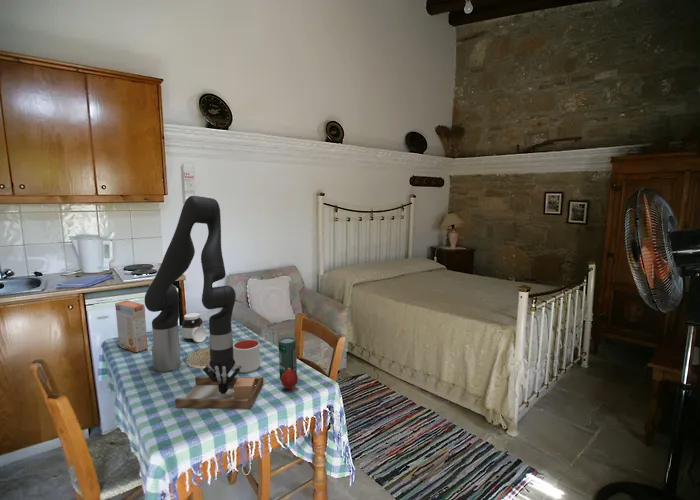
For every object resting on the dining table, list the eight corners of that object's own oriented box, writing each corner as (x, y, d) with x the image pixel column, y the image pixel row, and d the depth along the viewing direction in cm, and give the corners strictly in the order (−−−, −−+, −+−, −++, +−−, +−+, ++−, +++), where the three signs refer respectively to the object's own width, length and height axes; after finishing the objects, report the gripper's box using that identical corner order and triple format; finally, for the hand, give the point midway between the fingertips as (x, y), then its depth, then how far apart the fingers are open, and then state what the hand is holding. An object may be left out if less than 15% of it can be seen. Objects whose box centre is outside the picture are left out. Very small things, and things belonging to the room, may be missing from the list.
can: (282, 374, 147) (280, 337, 145) (297, 374, 147) (296, 337, 145) (278, 382, 141) (277, 343, 139) (295, 382, 141) (294, 343, 139)
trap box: (175, 408, 124) (175, 399, 124) (196, 384, 140) (196, 376, 140) (250, 409, 123) (250, 401, 123) (263, 385, 139) (263, 377, 139)
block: (234, 399, 129) (233, 386, 129) (238, 390, 135) (237, 377, 135) (252, 398, 130) (251, 385, 129) (255, 389, 136) (255, 377, 135)
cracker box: (148, 349, 172) (145, 304, 169) (135, 353, 167) (131, 307, 164) (131, 342, 180) (128, 299, 177) (118, 347, 175) (114, 302, 172)
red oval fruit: (282, 385, 139) (281, 364, 138) (298, 384, 139) (297, 363, 138) (280, 393, 133) (280, 371, 132) (297, 392, 134) (296, 371, 133)
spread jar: (191, 334, 190) (190, 311, 189) (213, 335, 189) (211, 312, 187) (177, 343, 179) (175, 319, 177) (200, 344, 177) (198, 320, 175)
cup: (253, 375, 147) (252, 350, 146) (229, 372, 149) (228, 348, 148) (264, 363, 157) (263, 340, 155) (241, 361, 159) (240, 338, 157)
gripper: (197, 348, 126) (200, 398, 128) (237, 349, 125) (239, 398, 128) (206, 340, 133) (209, 387, 136) (244, 340, 133) (246, 387, 135)
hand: (223, 392), depth 132 cm, fingers closed
